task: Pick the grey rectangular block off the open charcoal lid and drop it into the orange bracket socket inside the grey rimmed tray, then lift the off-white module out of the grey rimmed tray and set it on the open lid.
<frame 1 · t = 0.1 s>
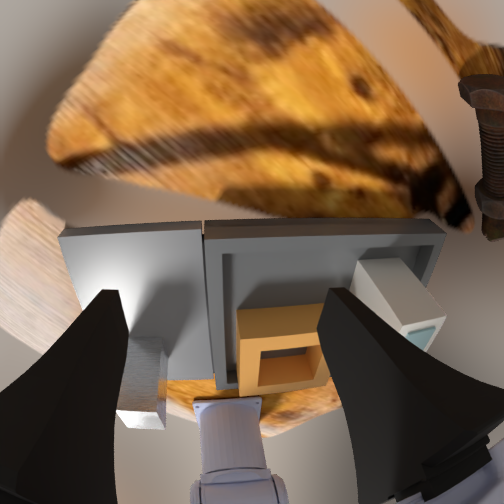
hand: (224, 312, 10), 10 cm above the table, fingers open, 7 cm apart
grey rectangular block: (148, 348, 23), point 1 cm above the table, touching lid
module: (373, 279, 22), point 1 cm above the table, touching grey rimmed tray
lid: (146, 313, 22), on the table
grey rimmed tray: (318, 303, 24), on the table
bolt: (478, 157, 19), on the table
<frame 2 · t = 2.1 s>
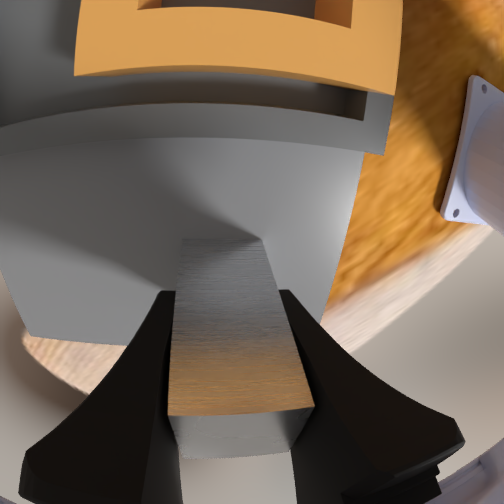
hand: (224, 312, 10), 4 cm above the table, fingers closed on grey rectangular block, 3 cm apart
grey rectangular block: (221, 271, 12), point 1 cm above the table, touching gripper, lid
lid: (151, 249, 12), on the table
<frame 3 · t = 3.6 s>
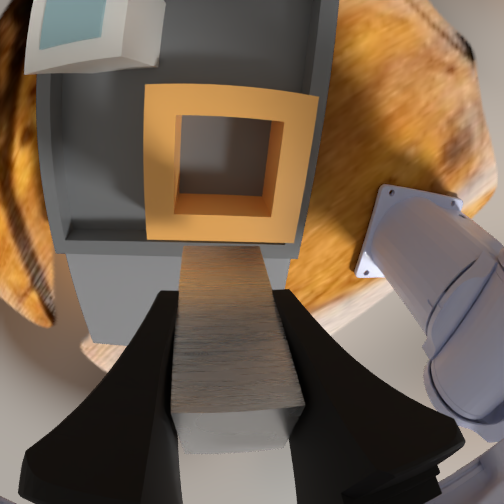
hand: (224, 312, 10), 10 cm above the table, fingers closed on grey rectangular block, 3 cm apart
grey rectangular block: (220, 276, 12), point 8 cm above the table, touching gripper
module: (126, 37, 12), point 1 cm above the table, touching grey rimmed tray
lid: (176, 295, 22), on the table
grey rimmed tray: (175, 100, 15), on the table
when the fingers open (5 cm above the table, at t = 5.2 s): grey rectangular block drops 1 cm, resting on grey rimmed tray.
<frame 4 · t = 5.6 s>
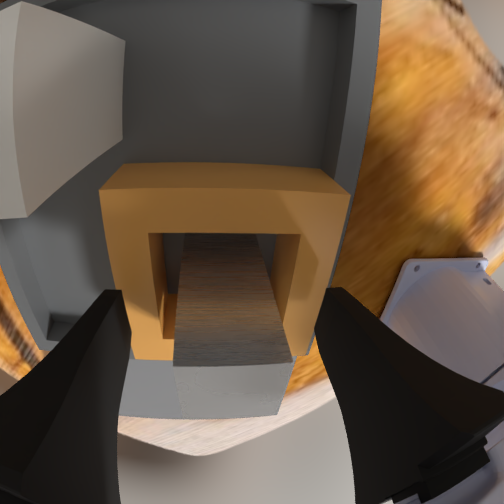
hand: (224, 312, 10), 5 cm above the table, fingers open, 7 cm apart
grey rectangular block: (218, 259, 13), point 1 cm above the table, touching grey rimmed tray
module: (76, 95, 9), point 1 cm above the table, touching grey rimmed tray
lid: (175, 376, 19), on the table
grey rimmed tray: (152, 178, 12), on the table
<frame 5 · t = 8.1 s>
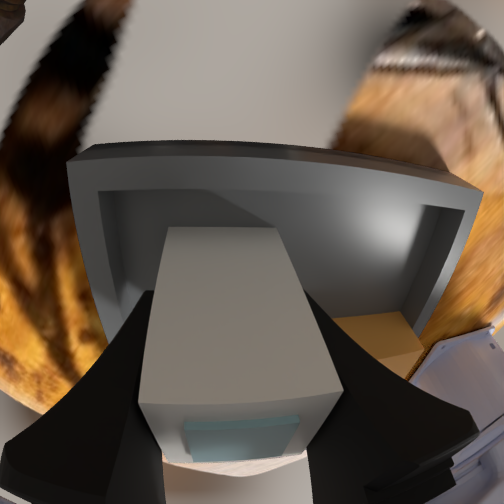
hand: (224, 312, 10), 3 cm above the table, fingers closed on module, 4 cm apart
module: (221, 271, 12), point 1 cm above the table, touching grey rimmed tray, gripper
grey rimmed tray: (275, 321, 15), on the table
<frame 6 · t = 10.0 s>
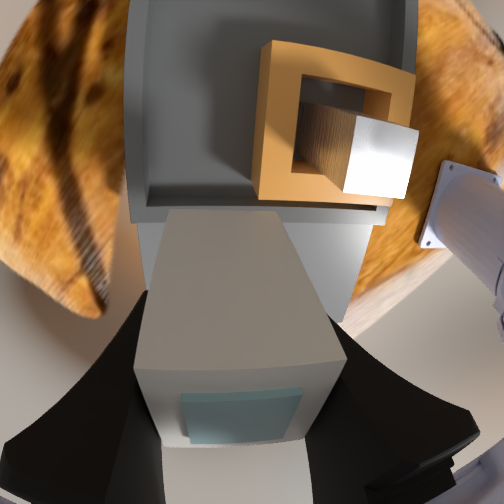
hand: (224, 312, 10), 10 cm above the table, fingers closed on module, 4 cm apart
grey rectangular block: (321, 129, 16), point 1 cm above the table, touching grey rimmed tray
module: (221, 255, 12), point 8 cm above the table, touching gripper
lid: (255, 270, 22), on the table
grey rimmed tray: (274, 66, 15), on the table
when the fingers open (5 cm above the table, at t = 11.8 s): module drops 1 cm, resting on lid.
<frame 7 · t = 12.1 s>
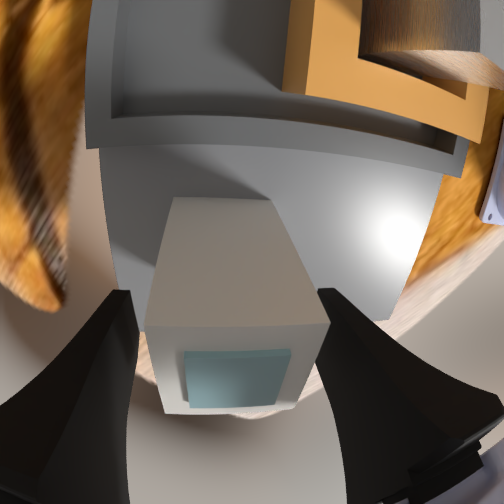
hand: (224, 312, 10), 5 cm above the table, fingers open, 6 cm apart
grey rectangular block: (380, 34, 9), point 1 cm above the table, touching grey rimmed tray
module: (220, 240, 13), point 1 cm above the table, touching lid
lid: (279, 242, 15), on the table
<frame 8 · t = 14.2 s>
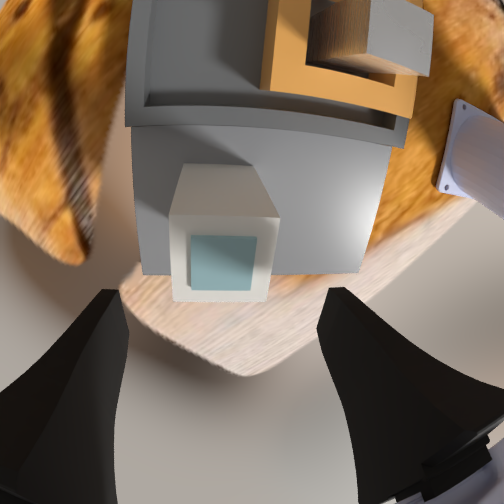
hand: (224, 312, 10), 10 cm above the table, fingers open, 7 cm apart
grey rectangular block: (333, 44, 13), point 1 cm above the table, touching grey rimmed tray
module: (216, 196, 17), point 1 cm above the table, touching lid
lid: (261, 201, 19), on the table
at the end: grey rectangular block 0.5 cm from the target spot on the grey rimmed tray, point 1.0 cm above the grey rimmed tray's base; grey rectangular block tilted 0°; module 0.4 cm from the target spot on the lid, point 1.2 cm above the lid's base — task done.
